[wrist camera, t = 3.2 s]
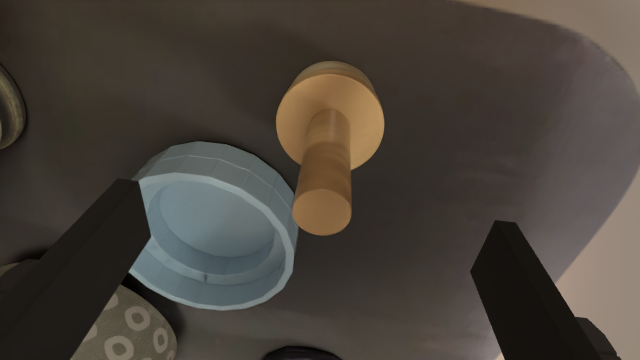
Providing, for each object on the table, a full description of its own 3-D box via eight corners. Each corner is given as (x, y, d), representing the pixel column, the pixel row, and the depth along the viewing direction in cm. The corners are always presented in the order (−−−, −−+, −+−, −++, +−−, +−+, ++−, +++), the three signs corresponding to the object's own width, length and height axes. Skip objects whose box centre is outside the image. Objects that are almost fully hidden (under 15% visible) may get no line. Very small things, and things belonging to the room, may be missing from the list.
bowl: (307, 147, 26) (299, 187, 21) (296, 271, 33) (288, 318, 29) (126, 126, 26) (83, 161, 21) (155, 255, 33) (128, 300, 29)
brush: (388, 63, 22) (421, 153, 12) (370, 152, 25) (384, 276, 16) (286, 51, 22) (240, 132, 12) (282, 142, 25) (244, 260, 16)
